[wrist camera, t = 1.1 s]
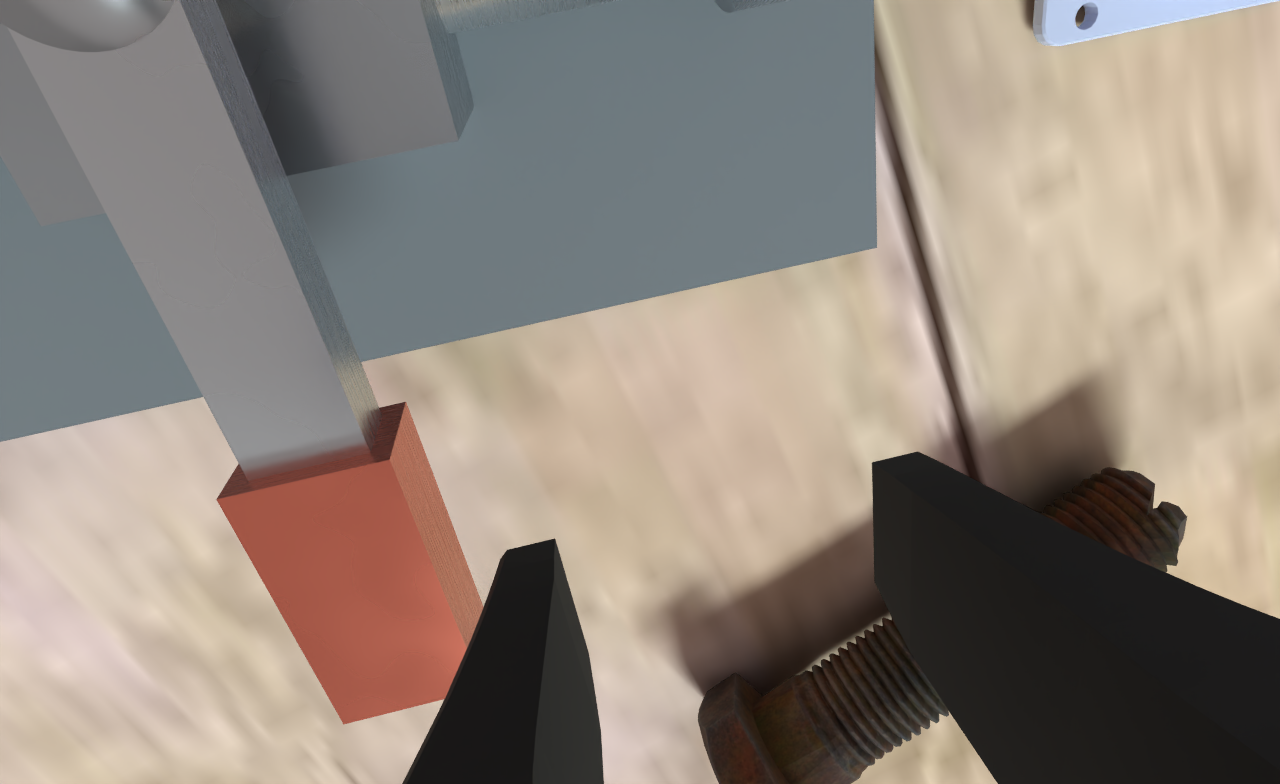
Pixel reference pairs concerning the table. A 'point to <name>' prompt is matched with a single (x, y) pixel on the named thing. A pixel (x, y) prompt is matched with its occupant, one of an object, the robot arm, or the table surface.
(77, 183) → the valve manifold
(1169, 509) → the bolt
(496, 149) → the mounting plate
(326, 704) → the table surface
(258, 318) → the valve lever
